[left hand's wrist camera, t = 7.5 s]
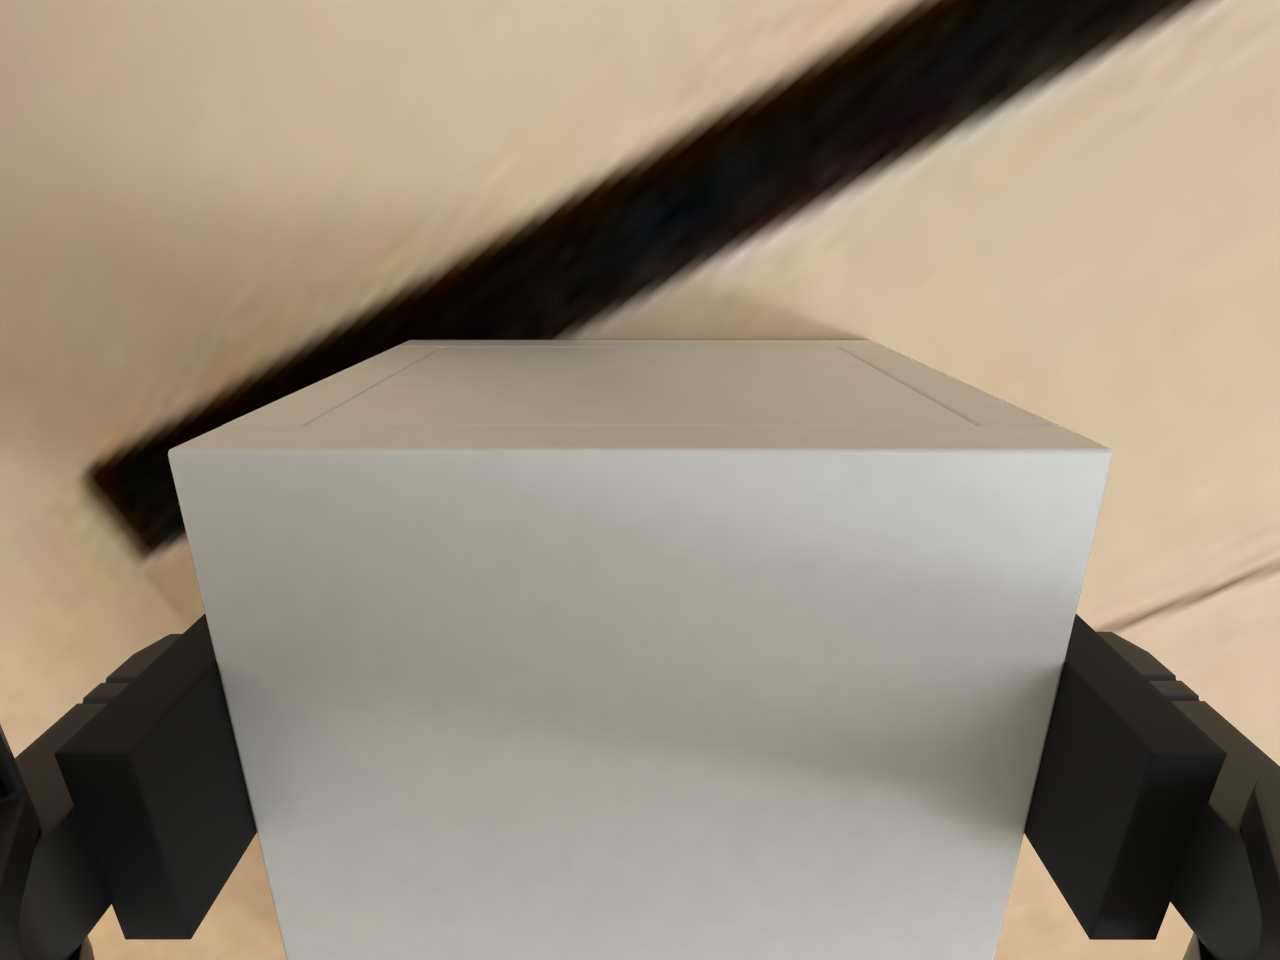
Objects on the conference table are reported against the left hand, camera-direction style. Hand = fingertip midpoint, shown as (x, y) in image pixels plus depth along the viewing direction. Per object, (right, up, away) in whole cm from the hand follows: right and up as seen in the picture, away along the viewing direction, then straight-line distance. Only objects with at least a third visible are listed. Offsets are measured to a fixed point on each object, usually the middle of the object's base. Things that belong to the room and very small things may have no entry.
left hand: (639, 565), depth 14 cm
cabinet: (0, -5, +5) cm, 7 cm away
